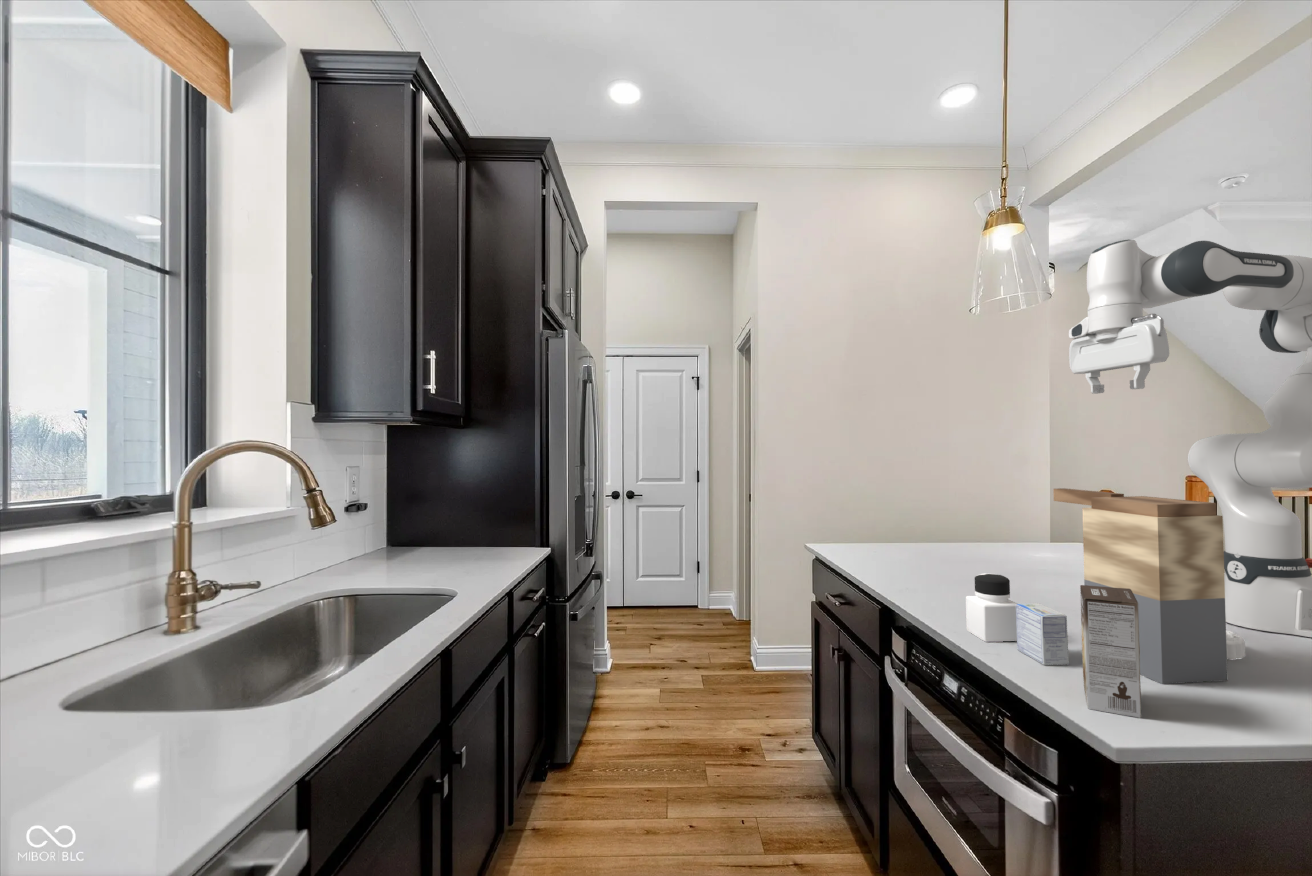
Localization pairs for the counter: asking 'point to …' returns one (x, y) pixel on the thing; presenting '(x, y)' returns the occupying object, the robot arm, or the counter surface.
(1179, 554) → the tower top block
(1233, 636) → the mooncake
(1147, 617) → the tower base block
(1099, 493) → the walnut board
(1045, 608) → the medicine box
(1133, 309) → the robot arm
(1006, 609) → the medicine bottle
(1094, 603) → the coffee box
